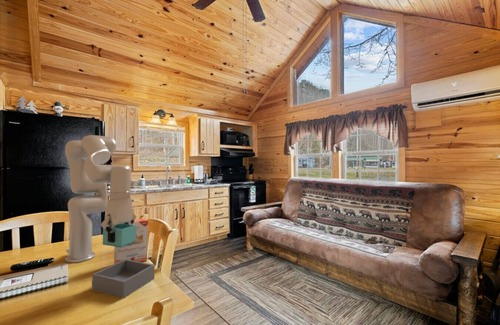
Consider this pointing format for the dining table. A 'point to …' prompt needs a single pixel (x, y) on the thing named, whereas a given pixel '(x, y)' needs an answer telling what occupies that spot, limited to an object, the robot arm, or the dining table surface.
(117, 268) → the charcoal crate
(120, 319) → the dining table surface
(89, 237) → the robot arm
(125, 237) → the teal crate
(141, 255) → the cracker box
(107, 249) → the dining table surface
